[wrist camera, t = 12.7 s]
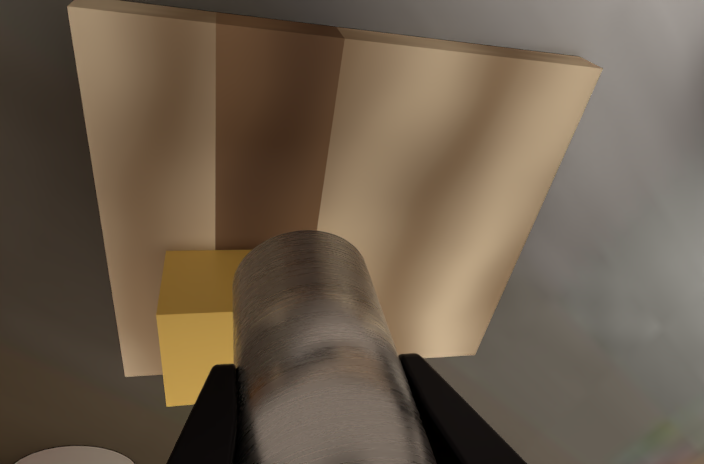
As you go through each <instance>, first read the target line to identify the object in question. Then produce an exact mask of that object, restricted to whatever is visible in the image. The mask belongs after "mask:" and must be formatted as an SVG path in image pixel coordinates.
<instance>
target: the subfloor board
mask: <svg viewBox="0 0 704 464" xmlns="http://www.w3.org/2000/svg"><path fill="white" fill-rule="evenodd" d="M67 10H68V16H69V22H70V29H71V35H72V41H73V48H74V54H75V60H76V67H77V73H78V80H79V86H80V92H81V99H82V105H83V111H84V118H85V124H86V130H87V137H88V143H89V150H90V156H91V162H92V169H93V175H94V181H95V188H96V194H97V200H98V207H99V213H100V219H101V226H102V232H103V239H104V245H105V251H106V258H107V264H108V270H109V277H110V283H111V289H112V296H113V302H114V308H115V315H116V321H117V328H118V334H119V340H120V347H121V353H122V359H123V366H124V372H125V377H130V376H146V375H162V374H163V371H162V362H161V353H160V345H159V336H158V327H157V318H156V313H157V306H158V300H159V293H160V286H161V280H162V273H163V267H164V260H165V254H166V251H189V250H253V249H254V248H255V247H256V246H258V245H259V244H261V243H262V242H264V241H266V240H268V239H270V238H272V237H275V236H278V235H280V234H284V233H288V232H293V231H300V230H315V231H323V232H328V233H331V234H335V235H337V236H339V237H342V238H344V239H345V240H347V241H348V242H350V243H351V244H352V245H354V246H355V247H356V248H357V249H358V251H359V252H360V253H361V255H362V256H363V258H364V260H365V263H366V266H367V269H368V271H369V274H370V277H371V280H372V283H373V285H374V288H375V291H376V294H377V297H378V300H379V302H380V305H381V308H382V311H383V314H384V316H385V319H386V322H387V325H388V328H389V330H390V333H391V336H392V339H393V342H394V345H395V347H396V350H397V353H398V355H400V354H407V353H417V354H419V355H420V356H421V357H422V358H433V357H449V356H465V355H475V353H476V351H477V349H478V347H479V345H480V342H481V340H482V338H483V336H484V333H485V331H486V329H487V327H488V324H489V322H490V320H491V318H492V315H493V313H494V311H495V309H496V307H497V304H498V302H499V300H500V298H501V295H502V293H503V291H504V289H505V286H506V284H507V282H508V280H509V277H510V275H511V273H512V271H513V269H514V266H515V264H516V262H517V260H518V257H519V255H520V253H521V251H522V248H523V246H524V244H525V242H526V239H527V237H528V235H529V233H530V231H531V228H532V226H533V224H534V222H535V219H536V217H537V215H538V213H539V210H540V208H541V206H542V204H543V201H544V199H545V197H546V195H547V193H548V190H549V188H550V186H551V184H552V181H553V179H554V177H555V175H556V172H557V170H558V168H559V166H560V163H561V161H562V159H563V157H564V155H565V152H566V150H567V148H568V146H569V143H570V141H571V139H572V137H573V134H574V132H575V130H576V128H577V125H578V123H579V121H580V119H581V117H582V114H583V112H584V110H585V108H586V105H587V103H588V101H589V99H590V96H591V94H592V92H593V90H594V87H595V85H596V83H597V81H598V79H599V76H600V74H601V72H602V70H603V68H601V67H599V66H597V65H595V64H593V63H591V62H589V61H587V60H585V59H583V58H581V57H578V56H570V55H562V54H554V53H545V52H537V51H529V50H521V49H513V48H504V47H496V46H488V45H480V44H472V43H464V42H455V41H447V40H439V39H431V38H423V37H415V36H406V35H398V34H390V33H382V32H374V31H366V30H357V29H349V28H341V27H333V26H325V25H316V24H308V23H300V22H292V21H284V20H276V19H267V18H259V17H251V16H243V15H235V14H227V13H218V12H210V11H202V10H194V9H186V8H178V7H169V6H161V5H153V4H145V3H137V2H128V1H120V0H74V1H73V2H71V3H70V4H69V5H68V6H67Z"/></svg>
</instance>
